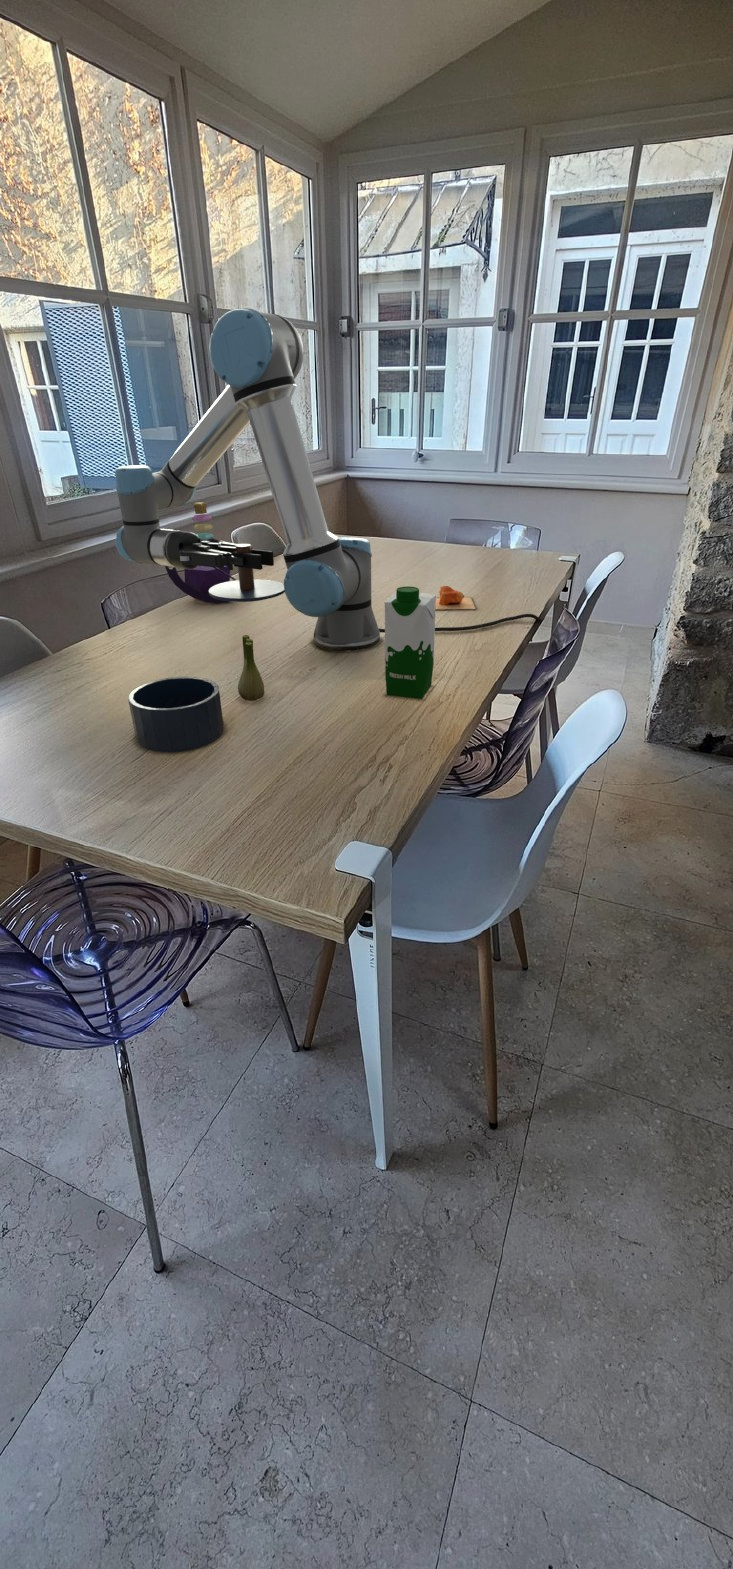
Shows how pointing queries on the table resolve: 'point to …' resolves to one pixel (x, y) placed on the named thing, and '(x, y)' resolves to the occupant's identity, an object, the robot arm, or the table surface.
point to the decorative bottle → (201, 576)
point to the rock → (453, 600)
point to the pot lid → (246, 585)
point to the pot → (176, 714)
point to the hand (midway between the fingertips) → (266, 560)
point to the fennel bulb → (250, 674)
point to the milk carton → (409, 642)
